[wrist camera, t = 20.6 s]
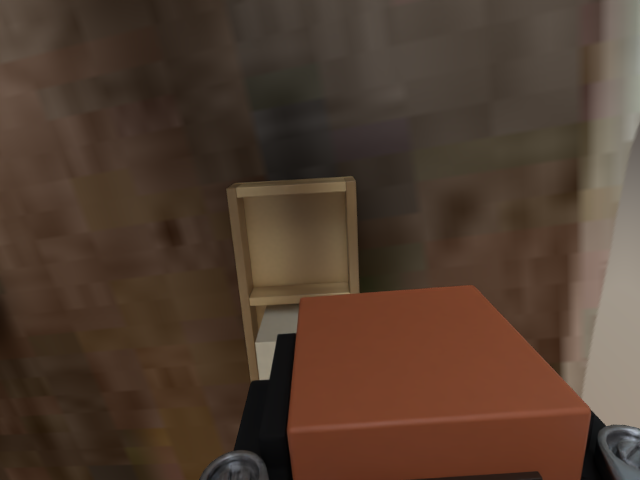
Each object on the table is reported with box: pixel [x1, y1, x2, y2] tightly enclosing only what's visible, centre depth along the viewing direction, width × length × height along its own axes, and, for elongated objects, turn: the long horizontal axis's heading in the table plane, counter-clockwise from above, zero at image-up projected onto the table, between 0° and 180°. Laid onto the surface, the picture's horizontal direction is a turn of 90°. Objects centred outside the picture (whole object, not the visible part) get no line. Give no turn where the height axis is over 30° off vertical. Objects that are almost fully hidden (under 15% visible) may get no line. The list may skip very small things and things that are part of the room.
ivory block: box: [255, 303, 299, 380], centre depth 25 cm, size 5×5×5 cm
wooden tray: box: [226, 176, 359, 382], centre depth 27 cm, size 8×22×2 cm, turn 3°
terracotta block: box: [287, 285, 591, 480], centre depth 9 cm, size 5×5×5 cm
